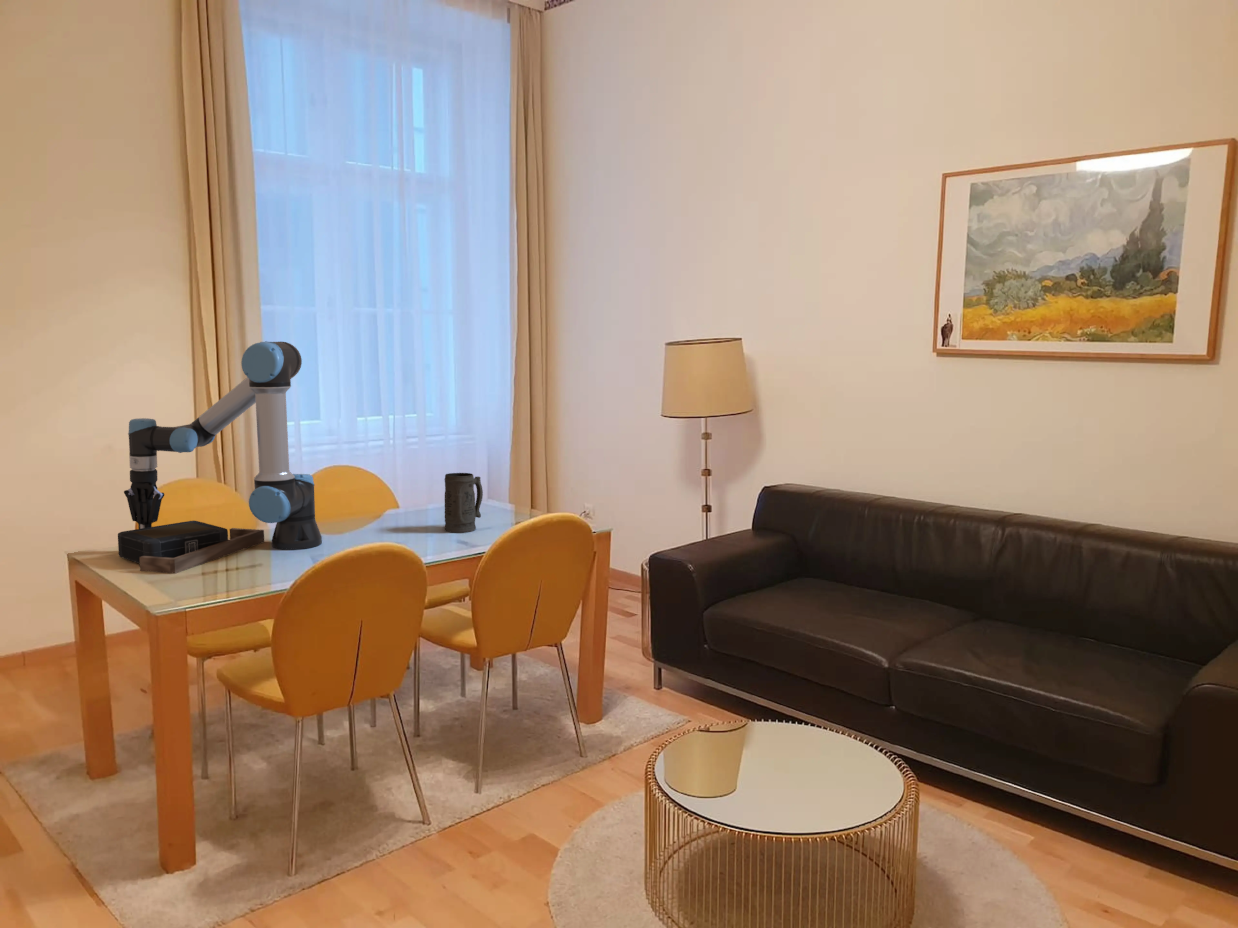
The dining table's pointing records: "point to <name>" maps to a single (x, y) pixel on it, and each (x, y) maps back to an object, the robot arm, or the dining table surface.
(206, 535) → the cash box
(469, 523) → the beer stein
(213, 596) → the dining table surface
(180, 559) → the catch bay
